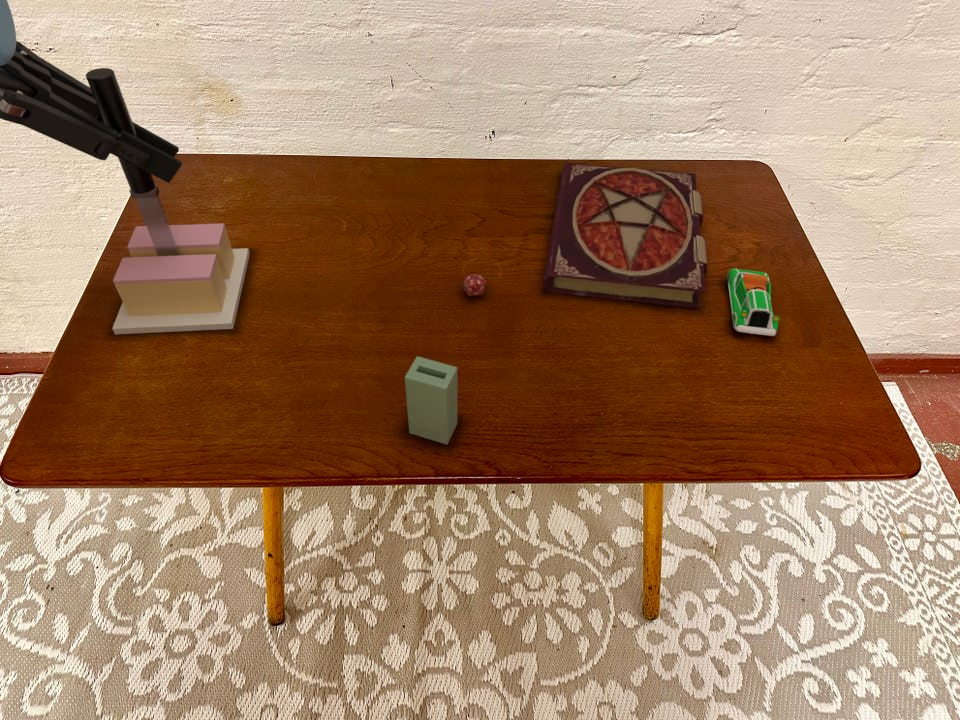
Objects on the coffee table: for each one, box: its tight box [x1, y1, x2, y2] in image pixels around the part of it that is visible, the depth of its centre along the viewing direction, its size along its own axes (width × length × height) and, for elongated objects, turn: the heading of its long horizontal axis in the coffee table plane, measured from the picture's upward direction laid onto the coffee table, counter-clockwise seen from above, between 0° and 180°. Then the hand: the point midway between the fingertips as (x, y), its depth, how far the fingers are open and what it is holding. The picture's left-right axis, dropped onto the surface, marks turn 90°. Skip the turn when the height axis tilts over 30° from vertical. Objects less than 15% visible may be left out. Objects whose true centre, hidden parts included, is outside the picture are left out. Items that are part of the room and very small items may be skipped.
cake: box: [111, 222, 251, 335], centre depth 86 cm, size 15×14×7 cm
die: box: [462, 273, 487, 297], centre depth 88 cm, size 3×3×3 cm
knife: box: [85, 67, 180, 256], centre depth 77 cm, size 3×3×26 cm
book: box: [542, 162, 708, 310], centre depth 97 cm, size 28×21×5 cm
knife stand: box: [404, 355, 459, 445], centre depth 71 cm, size 3×4×9 cm
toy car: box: [726, 267, 781, 337], centre depth 87 cm, size 12×5×4 cm, turn 171°
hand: (173, 164), depth 77 cm, fingers closed on knife, 3 cm apart
